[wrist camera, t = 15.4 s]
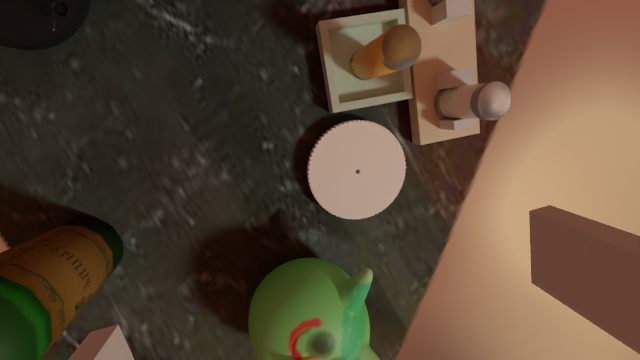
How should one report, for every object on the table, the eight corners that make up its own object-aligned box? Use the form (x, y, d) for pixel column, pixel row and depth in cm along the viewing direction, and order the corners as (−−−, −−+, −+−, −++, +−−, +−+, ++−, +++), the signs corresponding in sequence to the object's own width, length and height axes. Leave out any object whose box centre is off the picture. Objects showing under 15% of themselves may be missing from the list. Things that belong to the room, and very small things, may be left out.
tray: (315, 26, 40) (318, 21, 37) (396, 14, 41) (404, 8, 38) (329, 112, 42) (333, 112, 40) (404, 98, 43) (412, 98, 41)
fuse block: (394, -42, 39) (443, -102, 28) (459, -50, 40) (531, -111, 29) (412, 143, 45) (459, 153, 34) (468, 131, 46) (531, 138, 35)
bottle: (143, 273, 43) (-68, 546, 16) (61, 290, 42) (-317, 618, 15) (120, 201, 40) (-178, 383, 13) (31, 217, 39) (-493, 454, 12)
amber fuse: (347, 51, 40) (379, 27, 29) (376, 46, 41) (419, 21, 29) (352, 82, 41) (384, 71, 30) (380, 77, 42) (423, 65, 30)
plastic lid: (415, 146, 46) (423, 148, 43) (370, 227, 47) (376, 234, 45) (333, 101, 42) (337, 101, 40) (289, 190, 44) (290, 195, 42)
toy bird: (236, 259, 45) (221, 328, 31) (345, 225, 46) (379, 276, 32) (272, 356, 49) (273, 456, 35) (370, 322, 51) (409, 404, 37)
